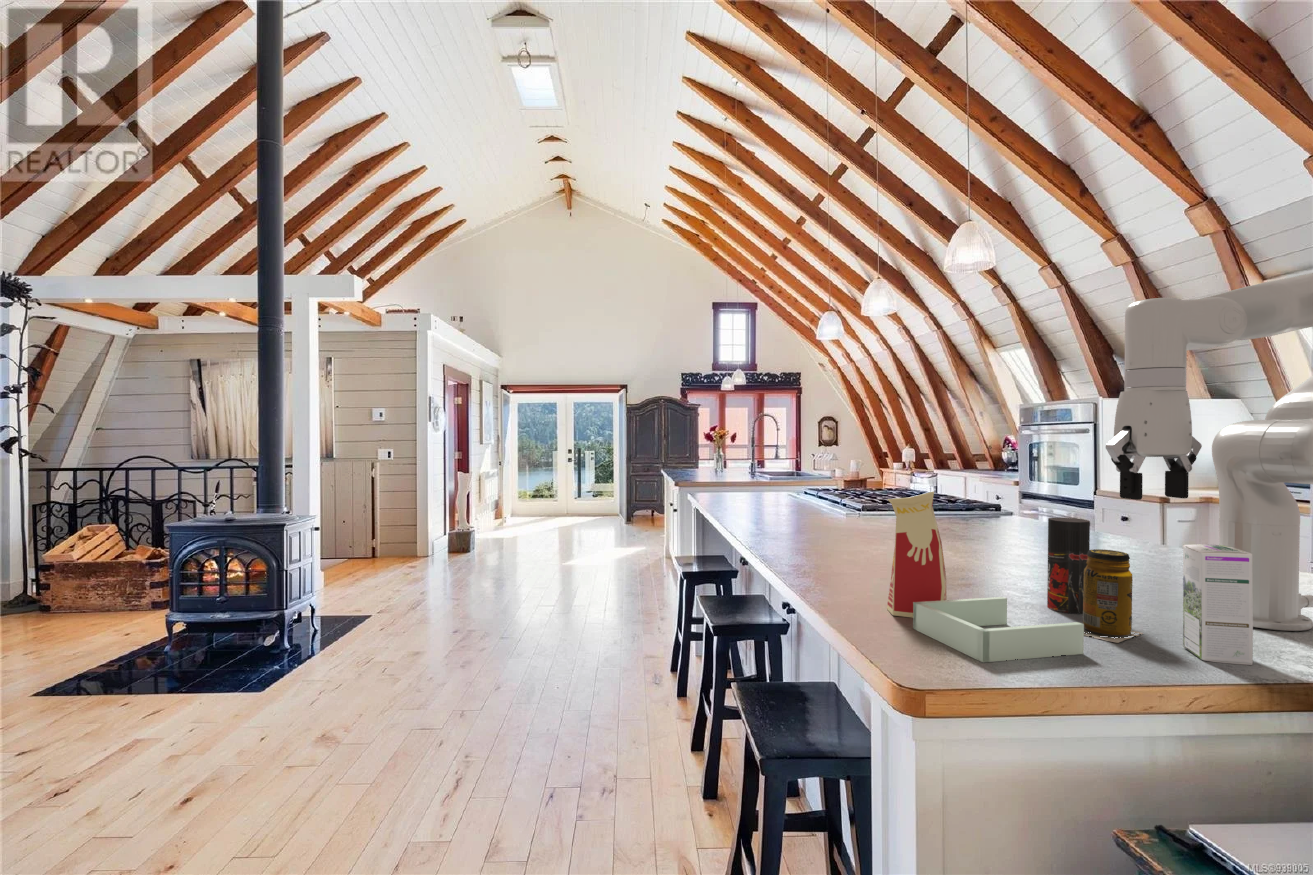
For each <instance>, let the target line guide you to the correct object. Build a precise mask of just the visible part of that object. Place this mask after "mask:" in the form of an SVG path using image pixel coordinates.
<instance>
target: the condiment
mask: <svg viewBox="0 0 1313 875" xmlns="http://www.w3.org/2000/svg"><path fill="white" fill-rule="evenodd" d="M1087 555H1088V560H1087V562H1086V563H1087V566H1086V568H1085V569H1084V593H1083V596H1084V597H1083V614H1082V624H1084V632H1085V633H1084V637H1089V636H1093V637H1094V638H1093V637H1092V638H1093V639H1100V640H1103V641H1105V642H1113V643H1116V644H1119V643H1122V642H1124V641H1126V640H1130V639H1131V638H1124V637H1128V636H1136V637H1139V636H1141V635H1143V634H1144V632H1141V631H1135V630H1132V628H1133V627H1132V624H1133V616H1132V615H1133V586H1134V585H1133V579H1134V577H1133V573H1132V572H1131V570H1130V567H1131V564H1130V559H1131V558H1130V555H1129V553H1126V552H1124V551H1120V550H1113V549H1103V548H1102V549H1099V548H1098V549H1097V548H1096V549H1090V550H1089V551H1088V553H1087ZM1088 632H1089V633H1088ZM1090 632H1091V633H1090ZM1131 632H1135V633H1139V634H1141V635H1134V634H1135V633H1134V634H1131ZM1086 633H1087V634H1086ZM1100 636H1108V637H1109V638H1108V637H1106V638H1105V637H1100ZM1110 637H1114V638H1115V637H1118V638H1115V639H1114V638H1110ZM1120 637H1121V638H1120Z"/></svg>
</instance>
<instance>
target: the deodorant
mask: <svg viewBox="0 0 1313 875" xmlns="http://www.w3.org/2000/svg"><path fill="white" fill-rule="evenodd" d="M1047 523H1048V524H1047V586H1046V587H1047V589H1046V591H1047V597H1046V598H1047V600H1046V601H1047V602H1046V603H1047V605H1046V607H1047V608H1048V609H1049V610H1052V611H1055V612H1059V613H1065V614H1071V615H1073V614H1074V615H1075V614H1077V615H1078V614H1079V615H1083V597H1084V596H1083V593H1084V569H1085V568H1086V566H1087V563H1086V562H1087V560H1088V555H1087V553H1088V551H1089V550H1091V549H1090V543H1091V538H1090V536H1091V533H1090V532H1091V525H1090V524H1091V521H1090V520H1089V519H1083V518H1075V517H1049V518H1048V519H1047Z"/></svg>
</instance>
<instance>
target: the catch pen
mask: <svg viewBox="0 0 1313 875" xmlns="http://www.w3.org/2000/svg"><path fill="white" fill-rule="evenodd" d="M912 619H913V620H912V629H913V630H915V631H917V632H919V633H921V634H924V636H925V635H926V636H927V637H930V638H932V639H933V640H936V641H937V642H940V643H942V644H944V645H946V646H948V647H950V648H952V649H954V650H955V651H958V652H960V653H962V654H965V655H966V656H969V657H970V658H972V659H974V660H977V661H978V662H981V663H992V662H1006V660H1007V661H1018V660H1027V659H1029V660H1031V659H1040V658H1052V656H1054V657H1062V656H1061V655H1066V656H1076V655H1084V654H1085V652H1084V648H1085V647H1084V646H1085V645H1084V644H1085V643H1084V640H1085V635H1084V624H1083V622H1079V621H1074V622H1062V623H1061V622H1059V623H1048V624H1046V623H1045V624H1035V625H1031V624H1030V625H1020V626H1019V625H1017V626H1007V627H991V628H983V627H987V626H988V627H989V626H1000V625H1001V626H1002V625H1003V626H1004V625H1008V598H1007V597H1004V596H995V597H994V596H993V597H992V596H991V597H978V598H975V597H974V598H965V599H964V598H962V599H959V598H958V599H947V600H942V601H925V602H913V618H912ZM1015 659H1016V660H1015ZM1017 659H1018V660H1017Z"/></svg>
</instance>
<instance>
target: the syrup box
mask: <svg viewBox="0 0 1313 875" xmlns="http://www.w3.org/2000/svg"><path fill="white" fill-rule="evenodd" d="M1182 552H1183V554H1182V555H1183V556H1182V557H1183V559H1182V560H1183V561H1182V565H1183V566H1182V567H1183V568H1182V581H1183V582H1182V590H1183V592H1182V596H1183V597H1182V599H1183V600H1182V606H1183V608H1182V613H1183V614H1182V630H1183V631H1182V646H1183V648H1184V649H1185V650H1187V651H1189V652H1190V653H1192V655H1194V656H1196V657H1197V658H1199V660H1202V661H1205V662H1206V661H1207V662H1212V663H1213V662H1214V663H1223V664H1233V665H1245V666H1246V665H1247V666H1249V665H1250V666H1252V665H1253V662H1254V660H1253V658H1254V657H1253V656H1254V655H1253V654H1254V653H1253V651H1254V648H1253V647H1254V646H1253V645H1254V644H1253V643H1254V627H1253V585H1252V554H1251V553H1248V552H1245V551H1242V550H1239V549H1236V548H1232V547H1229V546H1221V545H1219V544H1207V543H1205V544H1203V543H1202V544H1197V543H1196V544H1195V543H1194V544H1183V547H1182Z"/></svg>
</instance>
